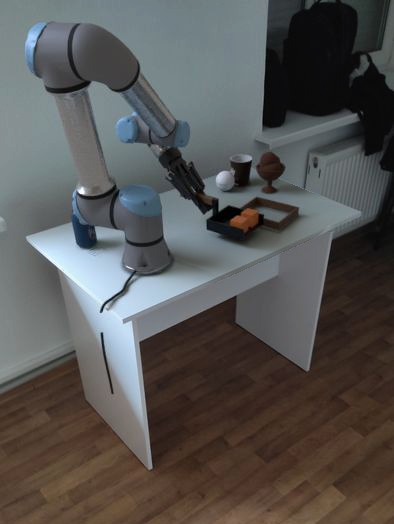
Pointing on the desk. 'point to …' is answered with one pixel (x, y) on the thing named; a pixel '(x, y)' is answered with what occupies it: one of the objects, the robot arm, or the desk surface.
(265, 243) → the desk surface
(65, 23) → the robot arm
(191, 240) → the desk surface
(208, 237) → the desk surface
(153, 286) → the desk surface
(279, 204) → the tray
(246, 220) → the block
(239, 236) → the pan
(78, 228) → the soda can
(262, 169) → the ice cream bowl
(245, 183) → the coffee mug
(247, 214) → the block
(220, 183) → the white oval piece
